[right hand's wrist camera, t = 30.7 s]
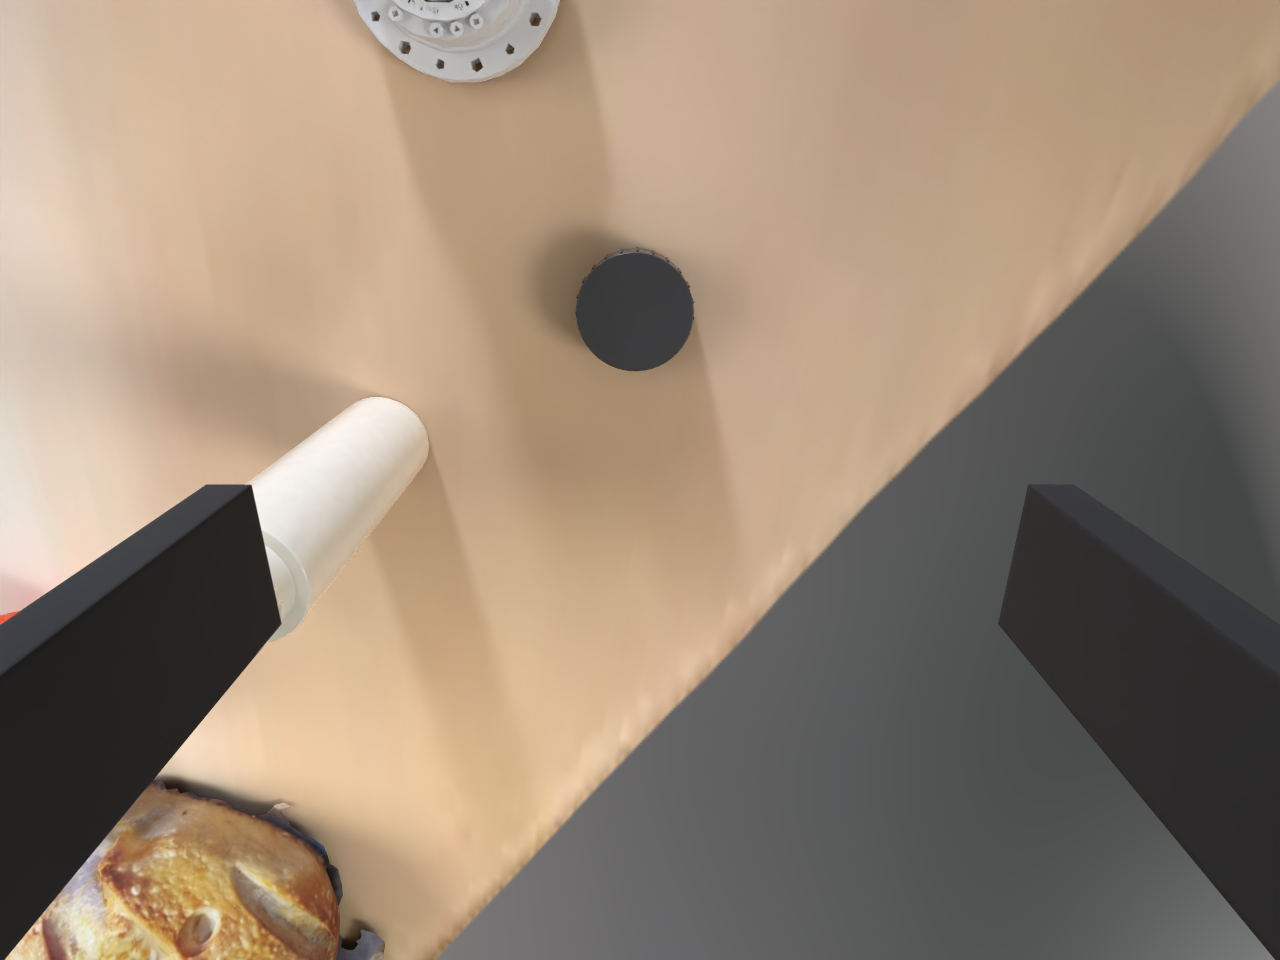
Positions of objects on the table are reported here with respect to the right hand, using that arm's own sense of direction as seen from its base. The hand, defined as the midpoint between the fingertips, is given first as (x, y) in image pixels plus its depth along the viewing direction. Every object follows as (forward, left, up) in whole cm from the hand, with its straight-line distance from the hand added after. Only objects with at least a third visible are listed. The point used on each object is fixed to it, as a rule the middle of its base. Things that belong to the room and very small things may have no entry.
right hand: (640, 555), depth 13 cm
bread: (+5, +56, -29) cm, 64 cm away
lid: (0, 0, -27) cm, 27 cm away
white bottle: (+8, +15, -29) cm, 34 cm away
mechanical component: (+16, -9, -29) cm, 34 cm away
